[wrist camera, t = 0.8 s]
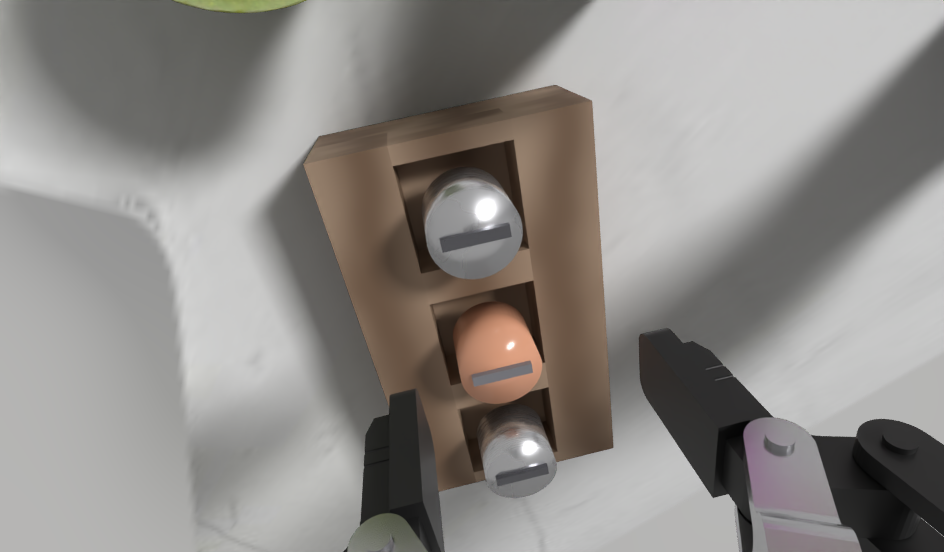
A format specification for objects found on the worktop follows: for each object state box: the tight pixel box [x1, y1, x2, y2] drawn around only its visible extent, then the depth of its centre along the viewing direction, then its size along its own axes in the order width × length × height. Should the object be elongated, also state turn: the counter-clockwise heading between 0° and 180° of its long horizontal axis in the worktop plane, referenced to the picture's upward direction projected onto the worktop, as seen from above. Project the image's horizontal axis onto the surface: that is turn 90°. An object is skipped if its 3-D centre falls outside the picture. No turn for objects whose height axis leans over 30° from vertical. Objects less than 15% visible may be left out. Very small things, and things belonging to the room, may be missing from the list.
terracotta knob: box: [453, 301, 542, 404], centre depth 28 cm, size 4×4×4 cm
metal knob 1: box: [422, 167, 523, 279], centre depth 24 cm, size 4×4×4 cm
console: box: [303, 85, 613, 492], centre depth 32 cm, size 14×24×6 cm, turn 10°
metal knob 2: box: [477, 404, 557, 498], centre depth 32 cm, size 4×4×4 cm
